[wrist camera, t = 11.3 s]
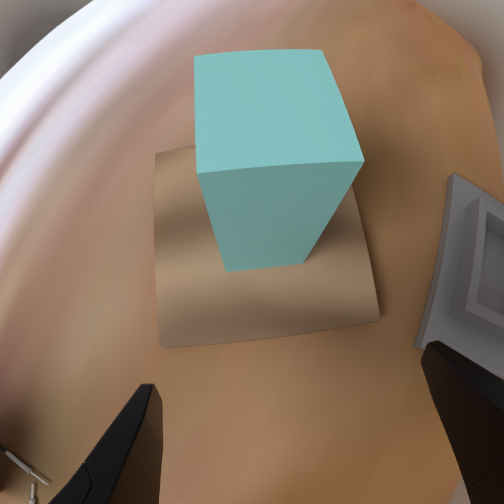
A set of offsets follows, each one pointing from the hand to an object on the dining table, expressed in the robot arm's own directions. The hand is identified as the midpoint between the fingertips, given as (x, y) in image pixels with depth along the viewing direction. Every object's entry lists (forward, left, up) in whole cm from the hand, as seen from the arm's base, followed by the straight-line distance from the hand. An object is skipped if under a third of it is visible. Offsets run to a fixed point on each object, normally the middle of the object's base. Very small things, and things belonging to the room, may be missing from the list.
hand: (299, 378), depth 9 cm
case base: (+3, -18, -9) cm, 20 cm away
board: (+8, 0, -9) cm, 12 cm away
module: (+8, 0, -8) cm, 12 cm away
